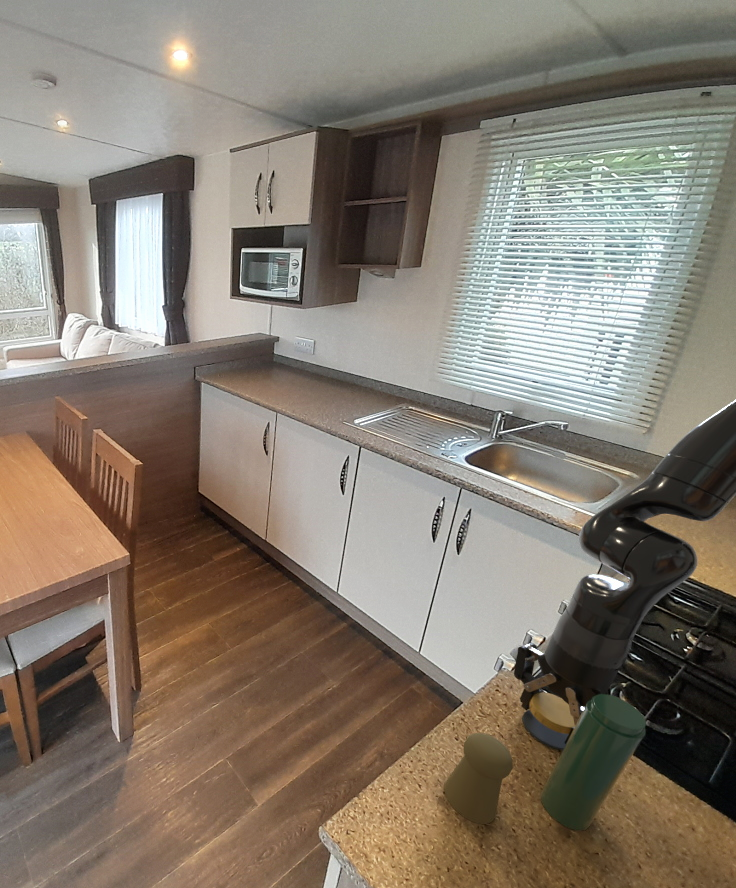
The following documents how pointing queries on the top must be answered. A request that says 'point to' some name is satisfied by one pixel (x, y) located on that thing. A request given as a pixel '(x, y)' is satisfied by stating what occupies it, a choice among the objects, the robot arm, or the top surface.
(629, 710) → the cylinder
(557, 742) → the coaster
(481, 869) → the top surface
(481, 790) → the cork
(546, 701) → the jar lid
